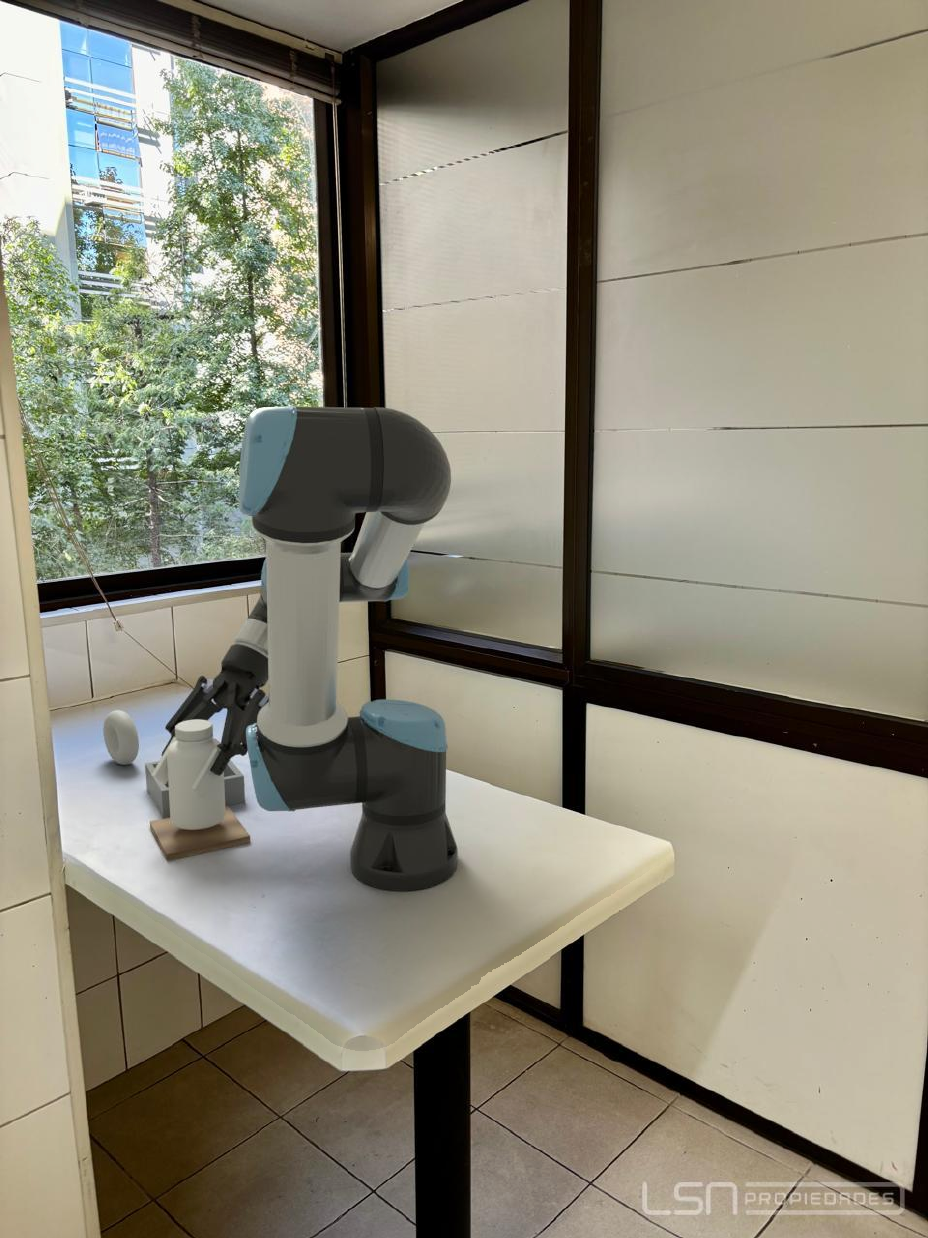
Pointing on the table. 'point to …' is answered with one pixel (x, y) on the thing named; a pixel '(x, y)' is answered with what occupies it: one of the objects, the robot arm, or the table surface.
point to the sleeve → (160, 790)
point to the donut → (121, 737)
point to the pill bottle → (193, 777)
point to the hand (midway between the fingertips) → (178, 786)
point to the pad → (198, 836)
